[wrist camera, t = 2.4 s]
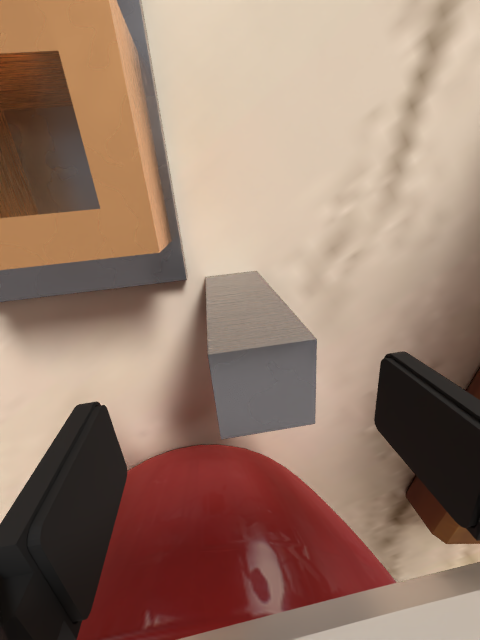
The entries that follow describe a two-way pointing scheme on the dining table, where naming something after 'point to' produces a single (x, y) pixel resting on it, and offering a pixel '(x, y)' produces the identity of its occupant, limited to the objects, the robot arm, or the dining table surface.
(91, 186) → the grey stepped fixture
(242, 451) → the mixing bowl
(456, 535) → the diary
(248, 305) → the grey rectangular block
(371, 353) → the dining table surface
